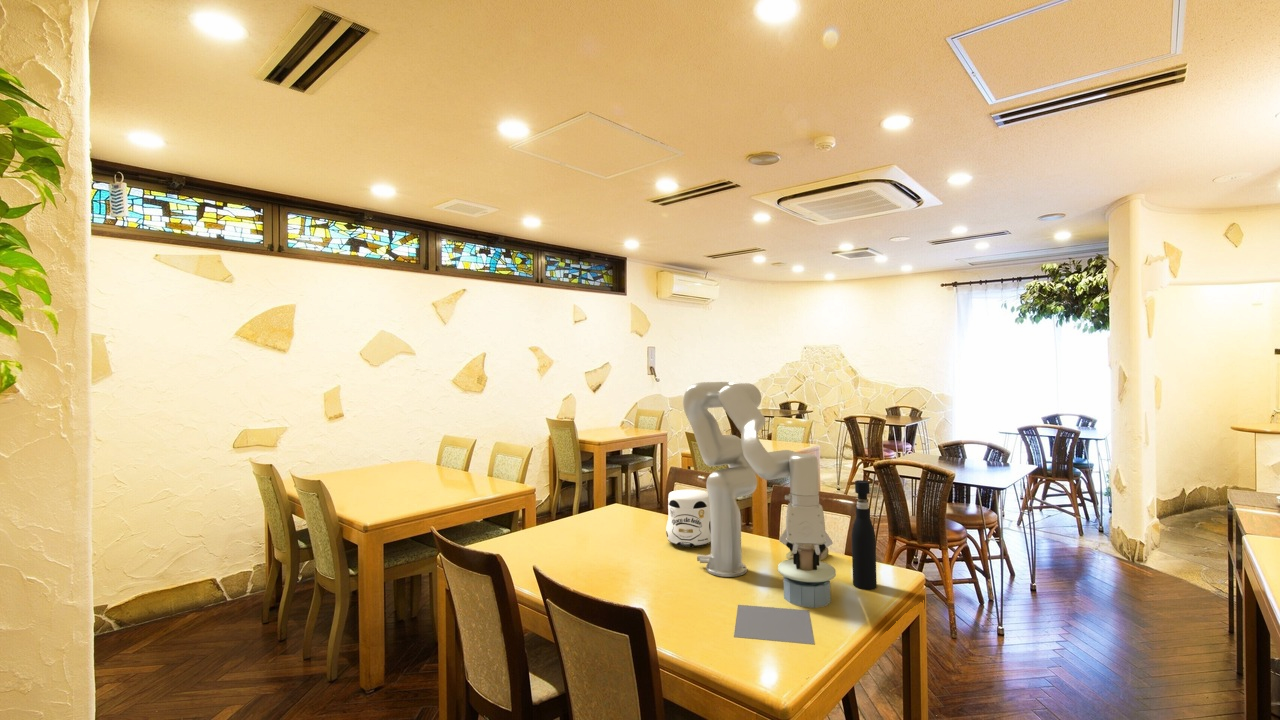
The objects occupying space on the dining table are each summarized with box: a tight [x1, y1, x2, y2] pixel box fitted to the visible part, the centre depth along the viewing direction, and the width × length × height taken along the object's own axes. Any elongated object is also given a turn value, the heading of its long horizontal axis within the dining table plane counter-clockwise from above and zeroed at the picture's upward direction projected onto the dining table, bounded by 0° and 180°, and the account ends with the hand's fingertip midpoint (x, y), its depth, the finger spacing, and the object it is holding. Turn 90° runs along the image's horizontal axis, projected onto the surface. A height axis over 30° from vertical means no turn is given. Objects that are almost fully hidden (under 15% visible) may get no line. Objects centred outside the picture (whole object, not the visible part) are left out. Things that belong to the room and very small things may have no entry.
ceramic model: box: [785, 543, 829, 562], centre depth 184 cm, size 14×11×10 cm
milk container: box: [665, 489, 711, 548], centre depth 200 cm, size 17×17×18 cm
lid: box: [777, 547, 837, 582], centre depth 149 cm, size 15×15×6 cm
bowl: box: [782, 575, 832, 609], centre depth 149 cm, size 12×12×6 cm
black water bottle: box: [851, 479, 878, 591], centre depth 159 cm, size 6×6×30 cm
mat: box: [733, 604, 816, 645], centre depth 134 cm, size 18×18×1 cm
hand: (806, 566), depth 149 cm, fingers closed on lid, 4 cm apart
